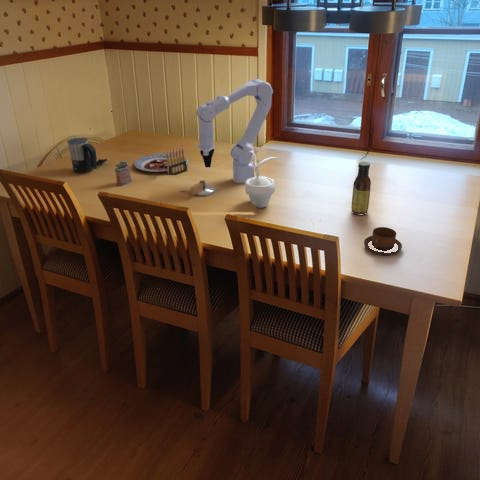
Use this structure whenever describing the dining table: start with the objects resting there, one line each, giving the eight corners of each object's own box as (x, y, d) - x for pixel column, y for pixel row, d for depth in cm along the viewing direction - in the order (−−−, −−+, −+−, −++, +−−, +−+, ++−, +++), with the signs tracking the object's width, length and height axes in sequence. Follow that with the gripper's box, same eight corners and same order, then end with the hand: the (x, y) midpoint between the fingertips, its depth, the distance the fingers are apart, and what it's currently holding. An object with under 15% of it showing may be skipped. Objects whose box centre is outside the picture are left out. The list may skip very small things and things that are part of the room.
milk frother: (69, 173, 225) (63, 142, 218) (84, 162, 239) (79, 133, 232) (97, 174, 223) (92, 143, 216) (111, 163, 237) (106, 134, 230)
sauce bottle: (355, 208, 186) (361, 158, 177) (370, 212, 182) (376, 162, 173) (347, 213, 182) (352, 163, 172) (362, 218, 178) (368, 167, 169)
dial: (199, 185, 206) (199, 175, 204) (219, 189, 202) (219, 179, 200) (183, 194, 197) (182, 184, 195) (203, 199, 193) (202, 189, 190)
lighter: (127, 179, 216) (125, 158, 212) (133, 181, 215) (130, 159, 210) (115, 185, 210) (112, 163, 206) (120, 186, 209) (117, 165, 204)
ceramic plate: (180, 176, 220) (179, 170, 218) (126, 174, 224) (126, 168, 222) (193, 158, 242) (193, 153, 241) (145, 157, 246) (144, 151, 245)
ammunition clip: (169, 177, 219) (167, 151, 213) (167, 176, 220) (164, 150, 214) (187, 171, 226) (185, 146, 220) (184, 170, 227) (183, 145, 221)
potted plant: (243, 210, 185) (242, 147, 174) (247, 198, 196) (246, 138, 184) (276, 211, 184) (277, 148, 172) (278, 199, 194) (279, 139, 182)
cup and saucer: (399, 260, 151) (402, 243, 148) (360, 254, 155) (362, 237, 152) (402, 243, 161) (405, 227, 158) (366, 237, 165) (368, 221, 162)
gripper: (198, 130, 202) (200, 161, 209) (195, 140, 190) (197, 172, 196) (215, 130, 202) (216, 161, 209) (212, 140, 190) (214, 172, 196)
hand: (208, 166), depth 202 cm, fingers closed
